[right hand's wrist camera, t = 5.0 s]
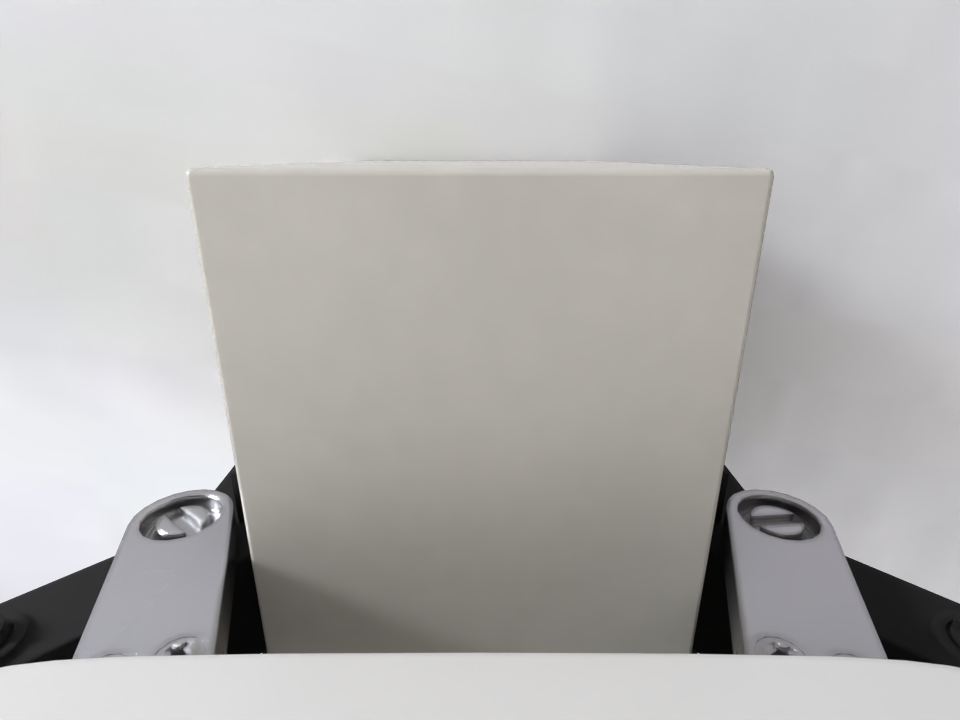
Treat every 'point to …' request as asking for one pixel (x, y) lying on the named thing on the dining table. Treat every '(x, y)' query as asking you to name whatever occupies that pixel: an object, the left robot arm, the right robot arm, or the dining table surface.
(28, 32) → the dining table surface
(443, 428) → the block
